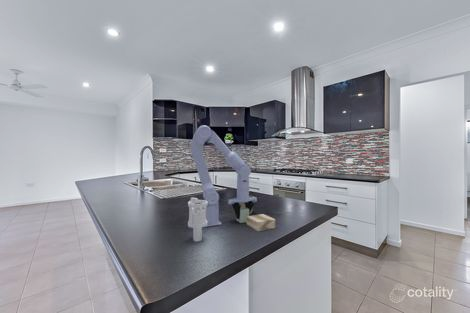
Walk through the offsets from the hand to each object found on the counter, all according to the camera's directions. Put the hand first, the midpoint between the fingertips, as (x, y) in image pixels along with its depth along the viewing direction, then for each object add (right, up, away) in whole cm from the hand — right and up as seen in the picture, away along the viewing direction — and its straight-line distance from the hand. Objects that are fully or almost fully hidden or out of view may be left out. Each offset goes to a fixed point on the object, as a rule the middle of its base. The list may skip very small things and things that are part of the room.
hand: (242, 217), depth 95 cm
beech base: (+8, -2, -7) cm, 10 cm away
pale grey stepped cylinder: (-17, -2, -22) cm, 28 cm away
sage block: (0, -1, 0) cm, 1 cm away
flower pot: (+2, -2, +13) cm, 14 cm away
